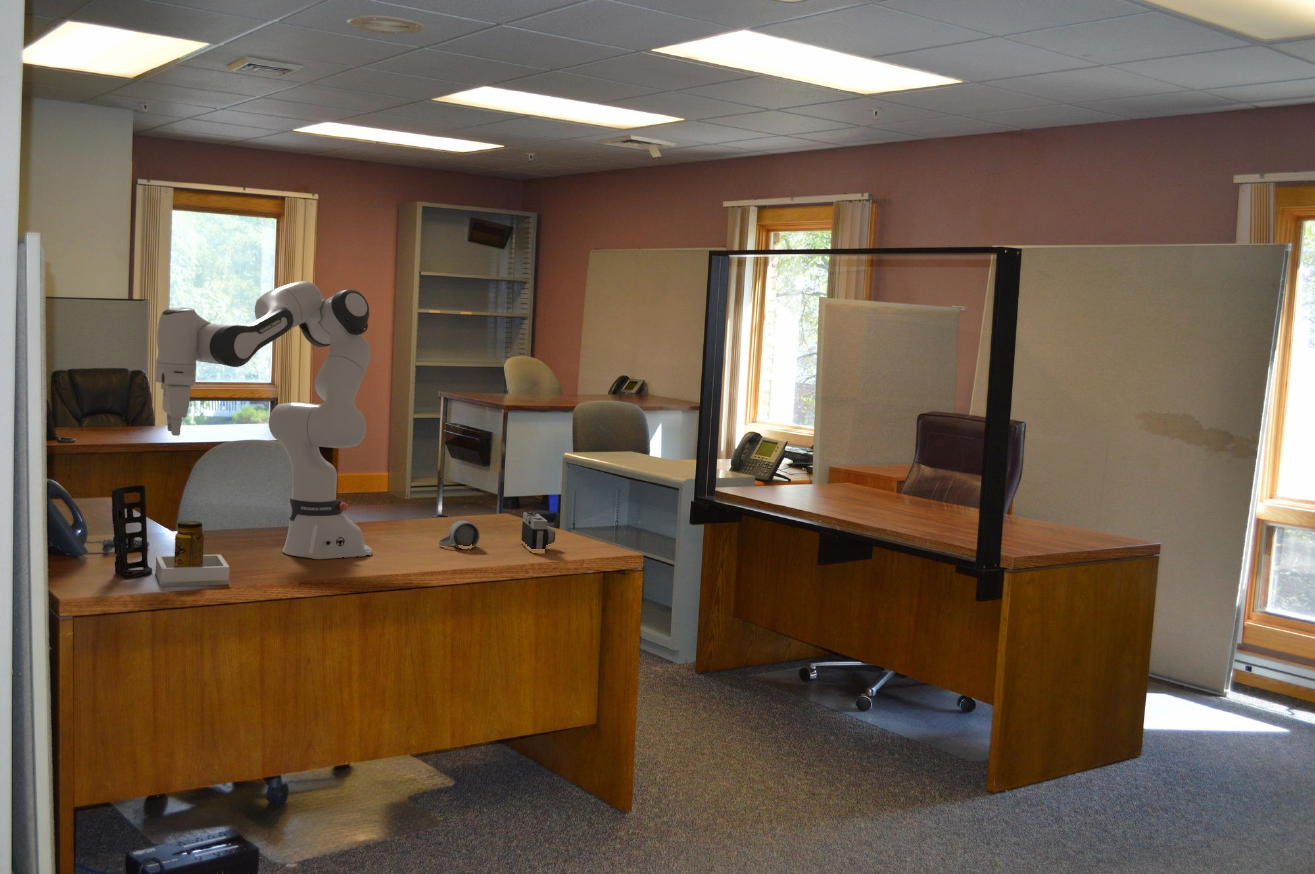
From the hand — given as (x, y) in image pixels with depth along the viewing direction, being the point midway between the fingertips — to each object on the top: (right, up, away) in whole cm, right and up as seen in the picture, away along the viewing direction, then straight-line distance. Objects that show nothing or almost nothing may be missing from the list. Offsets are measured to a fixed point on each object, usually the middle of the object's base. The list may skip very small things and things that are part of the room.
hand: (173, 433), depth 270 cm
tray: (+10, -33, -13) cm, 37 cm away
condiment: (+10, -32, -13) cm, 36 cm away
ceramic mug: (+60, -32, +47) cm, 83 cm away
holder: (-5, -32, -13) cm, 35 cm away
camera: (+82, -33, +53) cm, 103 cm away
